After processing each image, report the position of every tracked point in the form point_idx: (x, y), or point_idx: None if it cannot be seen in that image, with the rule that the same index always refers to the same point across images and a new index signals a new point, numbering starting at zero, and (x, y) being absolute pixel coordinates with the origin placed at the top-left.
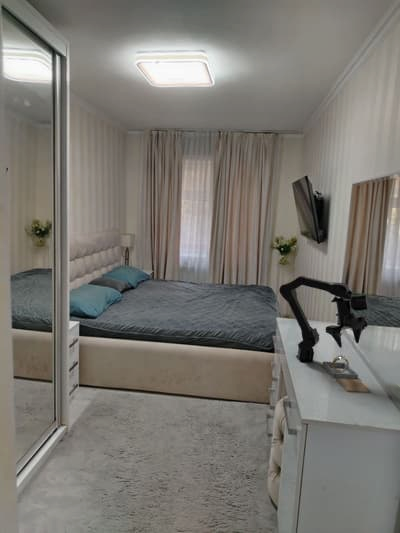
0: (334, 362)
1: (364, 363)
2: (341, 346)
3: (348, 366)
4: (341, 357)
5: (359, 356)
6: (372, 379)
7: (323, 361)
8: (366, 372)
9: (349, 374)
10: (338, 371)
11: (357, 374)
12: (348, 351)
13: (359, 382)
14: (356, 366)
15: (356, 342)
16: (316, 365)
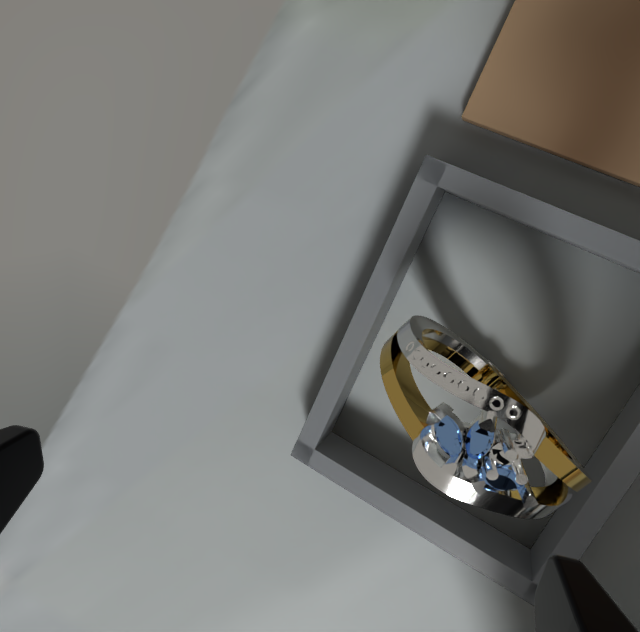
0: (574, 462)
1: (76, 392)
2: (571, 578)
3: (415, 317)
4: (494, 434)
5: None
6: (271, 108)
7: None
8: (201, 252)
9: (535, 199)
10: (503, 378)
11: (422, 165)
12: (30, 601)
13: (526, 48)
14: (189, 383)
15: (28, 475)
16: None
